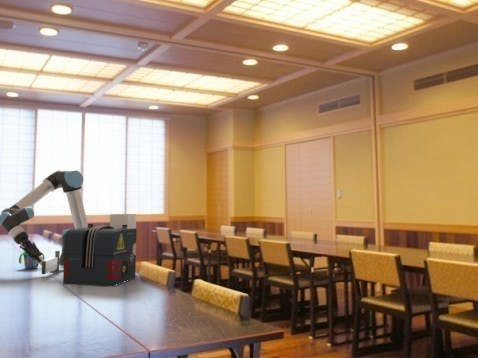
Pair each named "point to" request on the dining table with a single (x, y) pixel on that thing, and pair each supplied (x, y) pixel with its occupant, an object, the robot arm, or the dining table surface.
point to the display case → (123, 222)
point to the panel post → (57, 254)
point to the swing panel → (49, 265)
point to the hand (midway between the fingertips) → (45, 265)
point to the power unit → (99, 255)
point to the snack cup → (29, 261)
